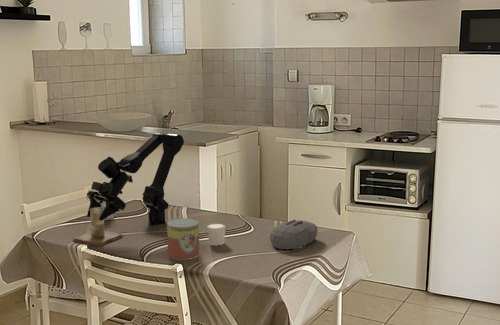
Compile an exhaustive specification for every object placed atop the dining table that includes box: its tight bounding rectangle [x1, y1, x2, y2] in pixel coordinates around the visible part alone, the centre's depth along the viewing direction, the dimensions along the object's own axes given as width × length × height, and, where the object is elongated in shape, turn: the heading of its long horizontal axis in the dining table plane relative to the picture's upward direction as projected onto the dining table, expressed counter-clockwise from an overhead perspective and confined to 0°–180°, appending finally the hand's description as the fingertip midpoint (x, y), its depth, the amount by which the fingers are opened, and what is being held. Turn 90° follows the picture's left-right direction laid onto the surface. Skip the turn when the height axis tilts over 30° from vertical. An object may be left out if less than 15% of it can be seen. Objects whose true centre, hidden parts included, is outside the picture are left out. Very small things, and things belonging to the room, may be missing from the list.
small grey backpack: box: [269, 219, 318, 251], centre depth 234 cm, size 15×8×20 cm
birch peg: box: [90, 207, 106, 238], centre depth 241 cm, size 5×5×11 cm
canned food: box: [166, 217, 200, 261], centre depth 222 cm, size 11×11×12 cm
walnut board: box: [73, 230, 123, 247], centre depth 242 cm, size 13×13×1 cm
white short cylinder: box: [206, 223, 226, 246], centre depth 235 cm, size 7×7×7 cm
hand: (93, 218), depth 239 cm, fingers open, 8 cm apart
